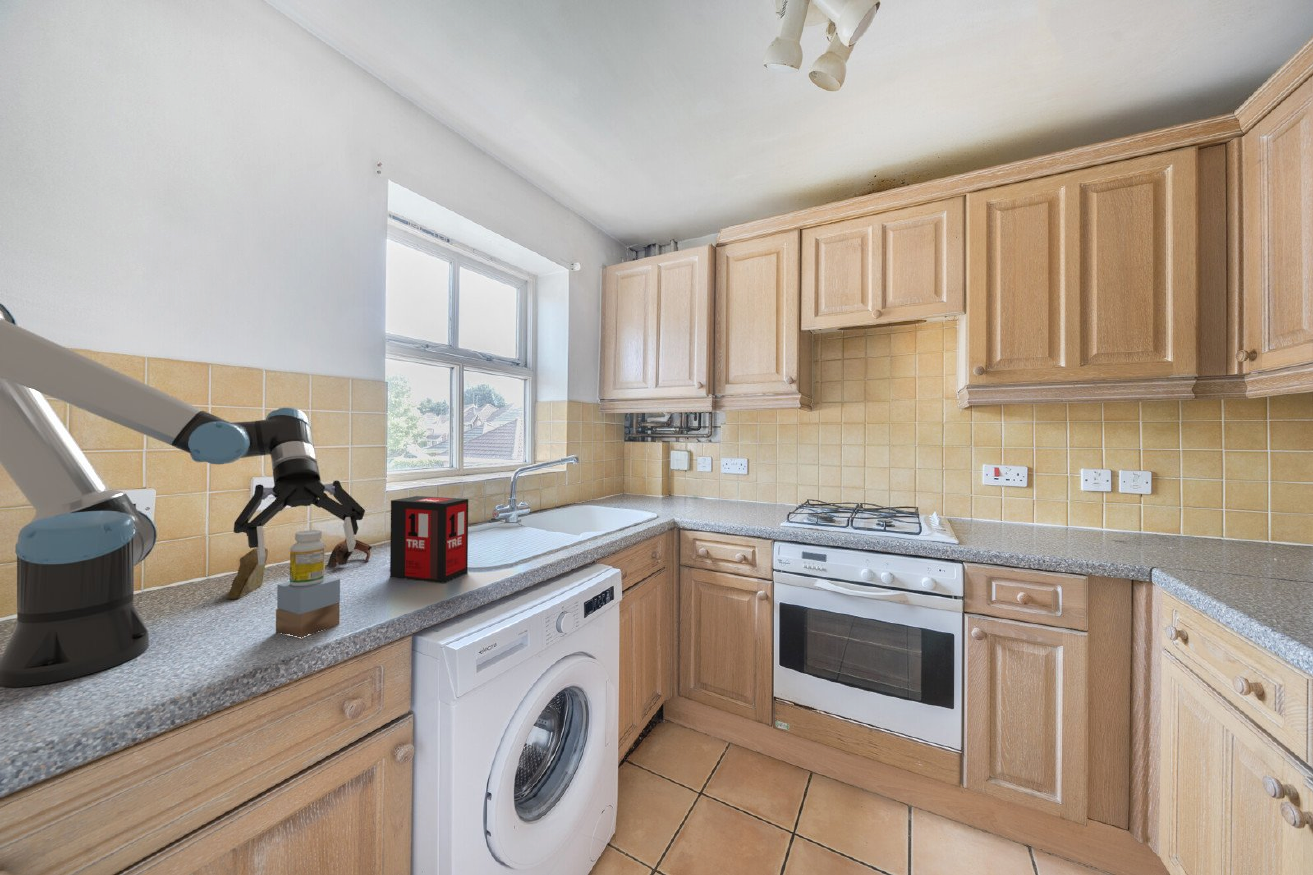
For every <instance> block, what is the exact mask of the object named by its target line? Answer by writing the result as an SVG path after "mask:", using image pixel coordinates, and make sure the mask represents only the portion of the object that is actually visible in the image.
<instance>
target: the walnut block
mask: <svg viewBox="0 0 1313 875" xmlns="http://www.w3.org/2000/svg"><path fill="white" fill-rule="evenodd" d="M340 602H341V601H340ZM340 602H338V603H335V604H332V605H329V606H326V607H323V608H320V609H317V610H314V611H311V612H308V613H305V614H301V615H299V614H295V613H292V612H288V611H284V610H280V609H275V633H276V632H277V633H276V634H278V633H282V634H290V635H293V636H297V637H301V638H302V637H304V636H307V635H308V634H313V633H315V634H317V633H316V632H318V631H321V630H323V631H325V630H324V629H326V630H328V629H330V627H331V628H333V627H336V626H338V625H340V606H341V605H340ZM335 625H336V626H335ZM332 626H333V627H332ZM321 632H322V631H321ZM318 633H319V632H318ZM282 634H281V635H282ZM313 635H314V634H313Z"/></svg>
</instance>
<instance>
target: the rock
mask: <svg viewBox="0 0 1313 875" xmlns="http://www.w3.org/2000/svg"><path fill="white" fill-rule="evenodd" d="M265 554H266V557H265V562H264V565H258V555H257V547H255V548H252V549H251V550H249V552H247V553H245V554H244V555H243V556H241V557H240V559H239V562H240V563H239V567H238V570H237V575H236V576H235V577H234V579H233V580H232V583H231V587H230V589H229V591H228V594H227V597H226V599H228V600H229V599H232V600H234V599H235V600H236V599H237V600H238V599H240V598H243V597H244V596H246V595H248V594H249V593H252V592H254V591H255V590H257V589H258V588H259V587H262V585H263V581H264V574H265V569H266V564H267V561H268V555H269V550H268V549H267V548H266V547H265Z"/></svg>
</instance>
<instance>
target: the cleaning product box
mask: <svg viewBox="0 0 1313 875" xmlns="http://www.w3.org/2000/svg"><path fill="white" fill-rule="evenodd" d="M389 546H390V547H389V548H390V549H389V551H390V552H389V556H390V558H389V563H390V564H389V565H390V567H389V572H390V573H389V578H392V579H400V580H402V579H403V580H408V581H409V580H410V581H418V582H419V581H420V582H429V583H438V584H447V583H448V582H452V581H453V580H455V579H458V578H460V577H463V576H465V575H467V574H468V570H469V569H468V566H469V565H468V562H469V561H468V556H469V554H468V553H469V548H468V546H469V498H460V497H457V498H456V497H439V496H438V497H437V496H425V495H424V496H423V495H421V496H420V495H416V496H409V497H408V496H407V497H402V498H398V499H392V500H390V545H389Z"/></svg>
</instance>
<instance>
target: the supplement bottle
mask: <svg viewBox="0 0 1313 875" xmlns="http://www.w3.org/2000/svg"><path fill="white" fill-rule="evenodd" d="M322 538H323V535H322V530H318V529H317V530H316V529H311V530H302V531H298V532H295V536H294V540H295V541H296V542H295V543H293V544H292V545H291V547H290V549H289V551H290V552H289V553H290V554H289V556H290V558H289V582H290V584H291V585H292V586H310V585H314V584H318V583H320V582H322V581H323V580H324V578H325V576H326V575H325V574H326V572H325V571H326V546H327V545H326V544H325V542H324V541H321V539H322Z"/></svg>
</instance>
